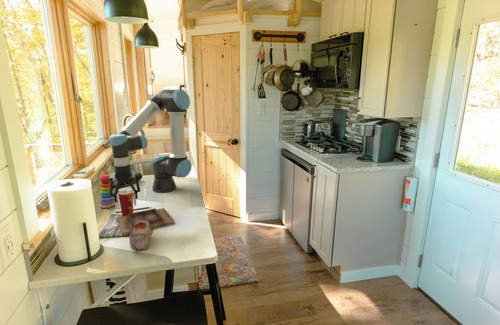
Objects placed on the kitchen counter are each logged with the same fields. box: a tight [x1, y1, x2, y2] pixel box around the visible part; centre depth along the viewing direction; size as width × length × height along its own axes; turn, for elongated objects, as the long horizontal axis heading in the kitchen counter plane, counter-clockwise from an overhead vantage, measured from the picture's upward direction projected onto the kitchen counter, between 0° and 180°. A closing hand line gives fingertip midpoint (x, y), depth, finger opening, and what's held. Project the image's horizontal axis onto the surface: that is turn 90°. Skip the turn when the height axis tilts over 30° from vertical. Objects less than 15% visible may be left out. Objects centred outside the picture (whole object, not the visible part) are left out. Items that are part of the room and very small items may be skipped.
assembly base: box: [116, 207, 176, 237], centre depth 151 cm, size 24×20×4 cm
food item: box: [128, 220, 152, 251], centre depth 129 cm, size 14×8×10 cm, turn 15°
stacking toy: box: [99, 174, 116, 209], centre depth 171 cm, size 8×8×19 cm
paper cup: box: [117, 187, 134, 217], centre depth 159 cm, size 8×8×14 cm
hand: (127, 206), depth 160 cm, fingers closed on paper cup, 8 cm apart
